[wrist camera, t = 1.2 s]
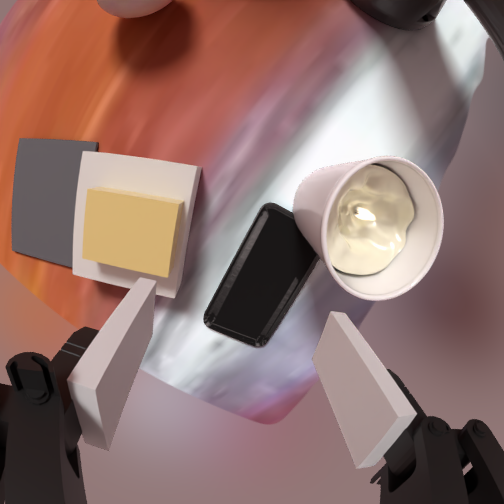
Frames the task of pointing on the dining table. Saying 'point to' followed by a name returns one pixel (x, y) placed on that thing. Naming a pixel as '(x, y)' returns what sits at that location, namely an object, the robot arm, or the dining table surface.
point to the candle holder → (372, 224)
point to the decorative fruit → (132, 7)
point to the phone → (262, 278)
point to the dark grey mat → (46, 197)
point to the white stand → (142, 181)
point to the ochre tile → (131, 230)
